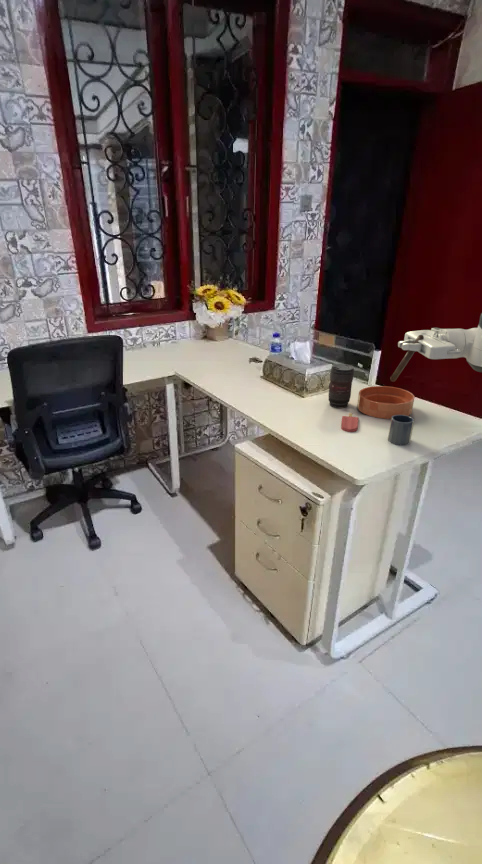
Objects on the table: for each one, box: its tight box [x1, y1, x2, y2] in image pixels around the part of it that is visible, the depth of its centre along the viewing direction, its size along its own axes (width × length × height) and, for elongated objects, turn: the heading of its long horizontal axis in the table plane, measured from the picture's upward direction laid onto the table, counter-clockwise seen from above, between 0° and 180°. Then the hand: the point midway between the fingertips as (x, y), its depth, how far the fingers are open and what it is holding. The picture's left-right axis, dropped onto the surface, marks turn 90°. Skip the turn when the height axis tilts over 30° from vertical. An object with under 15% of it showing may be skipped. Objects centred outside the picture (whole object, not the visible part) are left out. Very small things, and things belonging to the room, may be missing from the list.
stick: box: [389, 335, 424, 382], centre depth 129 cm, size 2×2×16 cm
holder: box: [387, 415, 415, 446], centre depth 126 cm, size 6×6×8 cm
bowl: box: [356, 385, 416, 420], centre depth 149 cm, size 18×18×6 cm
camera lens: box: [328, 363, 355, 409], centre depth 153 cm, size 8×8×15 cm
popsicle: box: [340, 412, 360, 433], centre depth 141 cm, size 5×2×15 cm
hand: (400, 345), depth 127 cm, fingers closed on stick, 1 cm apart
